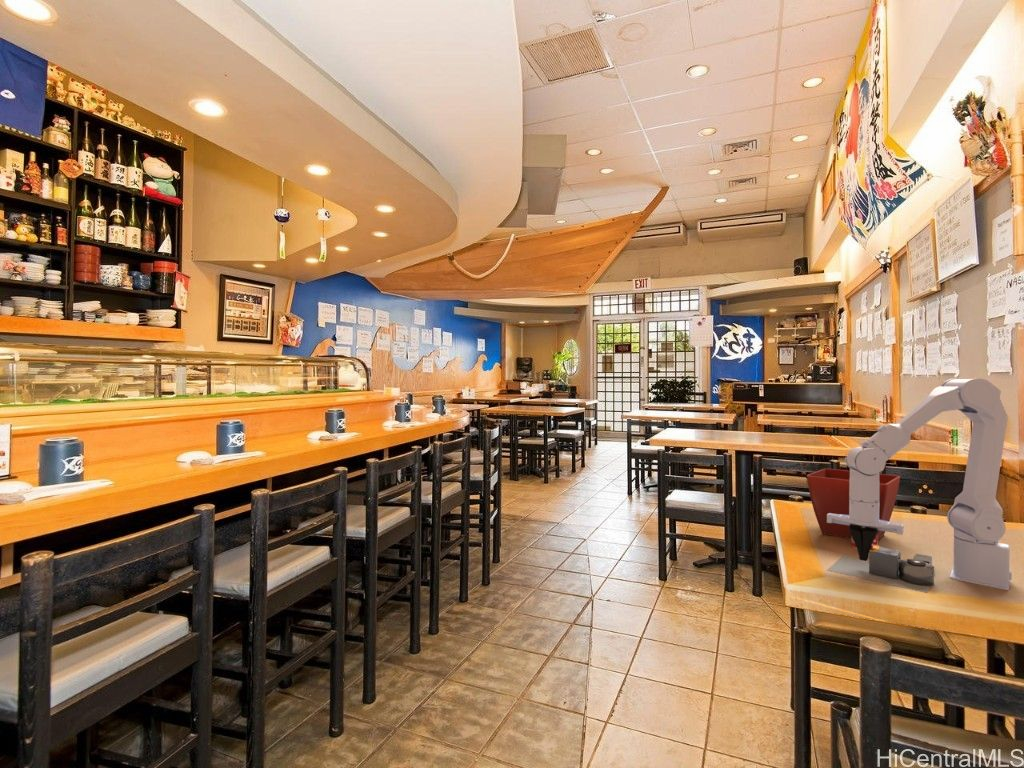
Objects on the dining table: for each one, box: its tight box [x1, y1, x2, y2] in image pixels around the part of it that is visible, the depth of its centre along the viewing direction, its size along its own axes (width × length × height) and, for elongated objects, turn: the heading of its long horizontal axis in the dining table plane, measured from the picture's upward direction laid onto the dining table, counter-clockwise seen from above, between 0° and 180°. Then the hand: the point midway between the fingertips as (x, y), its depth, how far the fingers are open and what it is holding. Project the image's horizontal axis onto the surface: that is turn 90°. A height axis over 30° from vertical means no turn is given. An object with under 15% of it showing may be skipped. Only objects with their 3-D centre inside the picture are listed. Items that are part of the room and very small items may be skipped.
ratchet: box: [897, 553, 935, 587], centre depth 119 cm, size 10×16×4 cm, turn 136°
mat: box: [826, 555, 936, 594], centre depth 119 cm, size 18×14×1 cm
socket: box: [868, 545, 902, 579], centre depth 118 cm, size 5×5×5 cm
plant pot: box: [806, 468, 901, 540], centre depth 149 cm, size 19×19×17 cm
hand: (863, 559), depth 120 cm, fingers closed
